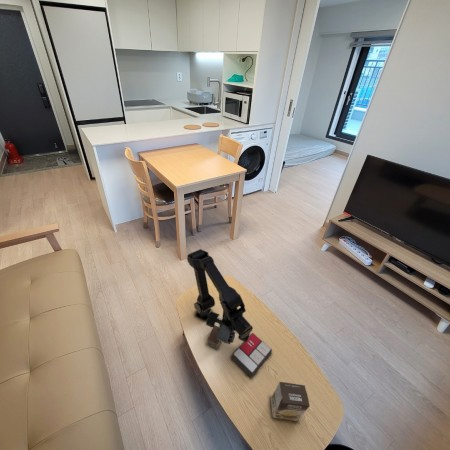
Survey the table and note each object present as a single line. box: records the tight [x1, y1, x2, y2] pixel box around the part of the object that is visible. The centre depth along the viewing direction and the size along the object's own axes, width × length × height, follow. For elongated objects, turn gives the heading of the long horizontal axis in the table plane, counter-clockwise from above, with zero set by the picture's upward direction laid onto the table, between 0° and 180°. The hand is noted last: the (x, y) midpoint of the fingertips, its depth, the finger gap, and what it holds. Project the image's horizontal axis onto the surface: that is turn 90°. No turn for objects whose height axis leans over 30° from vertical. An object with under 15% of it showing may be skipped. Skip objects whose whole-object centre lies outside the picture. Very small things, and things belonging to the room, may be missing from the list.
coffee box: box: [270, 381, 310, 422], centre depth 84 cm, size 9×6×16 cm
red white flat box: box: [231, 332, 273, 379], centre depth 103 cm, size 11×4×15 cm
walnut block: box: [207, 324, 221, 350], centre depth 109 cm, size 5×8×4 cm, turn 155°
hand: (226, 336), depth 104 cm, fingers closed
